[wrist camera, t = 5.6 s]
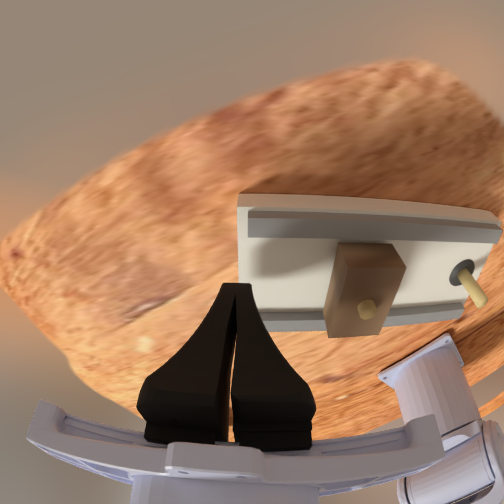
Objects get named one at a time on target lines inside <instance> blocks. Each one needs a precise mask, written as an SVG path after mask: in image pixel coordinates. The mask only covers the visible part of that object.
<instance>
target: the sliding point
mask: <svg viewBox="0 0 504 504" xmlns="http://www.w3.org/2000/svg"><path fill="white" fill-rule="evenodd" d="M406 268H407V267H406V266H405V264H404V262H403V261H402V259H401V257H400V256H399V254H398V253H397V251H396V249H395V248H394V246H393V245H392V244H390V243H340V242H338V244H337V249H336V254H335V259H334V264H333V269H332V274H331V278H330V283H329V287H328V292H327V296H326V300H325V305H324V309H323V315H324V319H325V324H326V328H327V333H328V338H340V337H356V336H369V335H379V333H380V331H381V328H382V326H383V324H384V322H385V320H386V317H387V315H388V313H389V311H390V308H391V306H392V303H393V301H394V299H395V296H396V294H397V291H398V289H399V286H400V284H401V281H402V279H403V276H404V273H405V271H406Z"/></svg>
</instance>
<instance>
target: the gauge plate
mask: <svg viewBox="0 0 504 504" xmlns="http://www.w3.org/2000/svg"><path fill="white" fill-rule="evenodd" d="M501 223H502V222H501V221H500V220H499V219H498V218H497V217H496V216H495V215H494V214H493V213H491V212H490V211H488V210H481V209H474V208H466V207H458V206H450V205H441V204H432V203H422V202H411V201H400V200H388V199H375V198H360V197H343V196H323V195H296V194H238V203H237V230H238V268H239V283H250V284H251V285H252V291H253V296H254V300H255V303H256V306H257V309H258V311H259V314H260V316H261V319H262V321H263V323H264V325H265V327H266V329H267V331H268V332H292V331H327V328H326V324H325V319H324V315H323V309H324V305H325V300H326V296H327V292H328V287H329V283H330V278H331V274H332V269H333V264H334V259H335V254H336V249H337V244H338V242H340V243H390V244H392V245H393V246H394V248H395V249H396V251H397V253H398V254H399V256H400V257H401V259H402V261H403V262H404V264H405V266H406V267H407V268H406V271H405V273H404V276H403V279H402V281H401V284H400V286H399V289H398V291H397V294H396V296H395V299H394V301H393V303H392V306H391V308H390V311H389V313H388V315H387V317H386V320H385V322H384V324H383V326H382V327H389V326H400V325H410V324H420V323H428V322H436V321H444V320H452V319H459V318H460V316H461V315H462V313H463V311H464V309H465V308H464V306H463V305H464V303H465V301H466V300H467V298H468V296H469V295H470V297H471V298H472V300H473V301H474V303H475V304H476V306H477V308H481V307H483V306H484V305H485V304H486V303H487V301H488V297H487V296H486V295H485V293H484V292H483V290H482V289H481V287H480V286H479V284H478V283H477V282H476V281H477V279H478V277H479V275H480V272H481V270H482V268H483V266H484V264H485V262H486V260H487V257H488V255H489V253H490V251H491V248H492V246H493V244H497V243H498V241H499V238H500V236H501V233H502V231H503V230H502V229H501V228H500V226H501Z"/></svg>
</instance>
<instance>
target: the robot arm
mask: <svg viewBox="0 0 504 504" xmlns="http://www.w3.org/2000/svg"><path fill="white" fill-rule="evenodd" d="M236 335H237V337H236ZM235 342H236V349H235V359H234V369H233V377H232V386H231V401H232V409H233V432H234V438H235V442H228V433H229V400H230V377H231V368H232V361H233V355H234V348H235ZM463 365H464V362H463V360H462V358H461V356H460V354H459V352H458V349H457V347H456V345H455V343H454V341H453V340H452V338H451V336H450V334H449V333H445V334H443V335H442V336H440V337H439V338H437V339H436V340H434V341H433V342H431V343H429V344H428V345H426V346H425V347H423V348H422V349H420V350H418V351H417V352H415V353H413V354H412V355H410V356H408V357H407V358H405V359H403V360H402V361H400V362H398V363H396V364H395V365H393V366H391V367H389V368H387V369H386V370H384V371H382V372H380V373H379V374H378V378H379V379H380V380H381V381H383V382H384V383H386V384H387V385H389V386H390V387H392V388H393V389H394V390H395V392H396V395H397V399H398V402H399V406H400V410H401V414H402V417H403V421H404V425H405V426H404V427H400V428H396V429H390V430H386V431H381V432H376V433H370V434H364V435H357V436H350V437H343V438H335V439H326V440H315V441H312V437H311V430H312V422H311V420H312V418H313V416H314V414H315V412H316V404H315V401H314V397H313V395H312V392H311V390H310V388H309V386H308V384H307V383H306V382H305V381H304V380H303V379H302V378H301V377H300V376H299V375H298V374H297V373H296V371H295V370H294V369H293V368H292V367H291V366H290V364H289V363H288V362H287V360H286V359H285V358H284V356H283V355H282V354H281V352H280V351H279V350H278V348H277V346H276V345H275V343H274V342H273V340H272V338H271V337H270V335H269V333H268V331H267V329H266V327H265V325H264V323H263V321H262V319H261V316H260V314H259V311H258V309H257V306H256V303H255V300H254V296H253V291H252V285H251V284H250V283H223V284H222V286H221V288H220V291H219V293H218V295H217V297H216V299H215V301H214V303H213V305H212V307H211V308H210V310H209V312H208V314H207V315H206V317H205V318H204V320H203V321H202V323H201V324H200V326H199V327H198V328H197V330H196V331H195V332H194V334H193V335H192V336H191V337H190V339H189V340H188V341H187V342H186V343H185V344H184V345H183V347H182V348H181V349H180V350H179V351H178V352H177V353H176V354H175V355H174V356H173V357H171V358H170V359H169V360H168V361H167V362H166V363H165V364H164V365H163V366H161V367H160V368H159V369H157V370H156V371H155V372H153V373H152V374H151V375H149V376H148V377H147V378H146V379H145V381H144V383H143V385H142V388H141V390H140V393H139V397H138V402H137V406H136V407H137V410H138V411H139V413H140V414H141V415H142V417H143V418H144V419H145V420H146V422H147V423H146V428H145V433H144V432H139V431H133V430H129V429H123V428H119V427H115V426H111V425H107V424H103V423H99V422H95V421H91V420H88V419H84V418H81V417H78V416H74V415H71V414H68V413H66V412H65V411H64V410H63V409H62V408H61V407H60V406H58V405H56V404H53V403H51V402H48V401H45V400H42V399H40V400H39V402H38V404H37V407H36V410H35V412H34V415H33V418H32V421H31V423H30V426H29V429H28V432H27V436H26V439H27V440H28V441H30V442H31V443H33V444H34V445H36V446H37V447H39V448H40V449H42V450H43V451H45V452H46V453H48V454H49V455H51V456H53V457H55V458H58V459H60V460H63V461H65V462H68V463H70V464H72V465H75V466H77V467H80V468H83V469H86V470H88V471H91V472H93V473H96V474H99V475H102V476H105V477H108V478H111V479H114V480H117V481H121V482H124V483H127V484H131V485H133V486H132V492H131V499H130V504H319V497H320V496H326V495H333V494H338V493H343V492H348V491H353V490H357V489H362V488H367V487H371V486H374V485H378V484H382V483H386V482H389V481H393V480H396V479H398V482H397V495H398V499H399V502H400V504H451V503H453V502H456V501H458V500H460V499H462V498H465V497H467V496H469V495H471V494H474V493H476V492H478V491H480V490H482V489H484V488H486V487H488V486H490V485H492V484H493V485H492V486H490V487H488V488H486V489H484V490H482V491H480V492H478V493H476V494H474V495H472V496H469V497H467V498H465V499H463V500H460V501H458V502H456V503H453V504H501V503H502V502H503V500H504V435H503V432H502V430H501V428H500V426H499V424H498V423H497V422H494V421H491V420H488V421H482V419H481V416H480V414H479V411H478V408H477V405H476V402H475V400H474V397H473V395H472V392H471V390H470V387H469V385H468V382H467V380H466V377H465V375H464V373H463V370H462V368H461V367H462V366H463Z"/></svg>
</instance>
